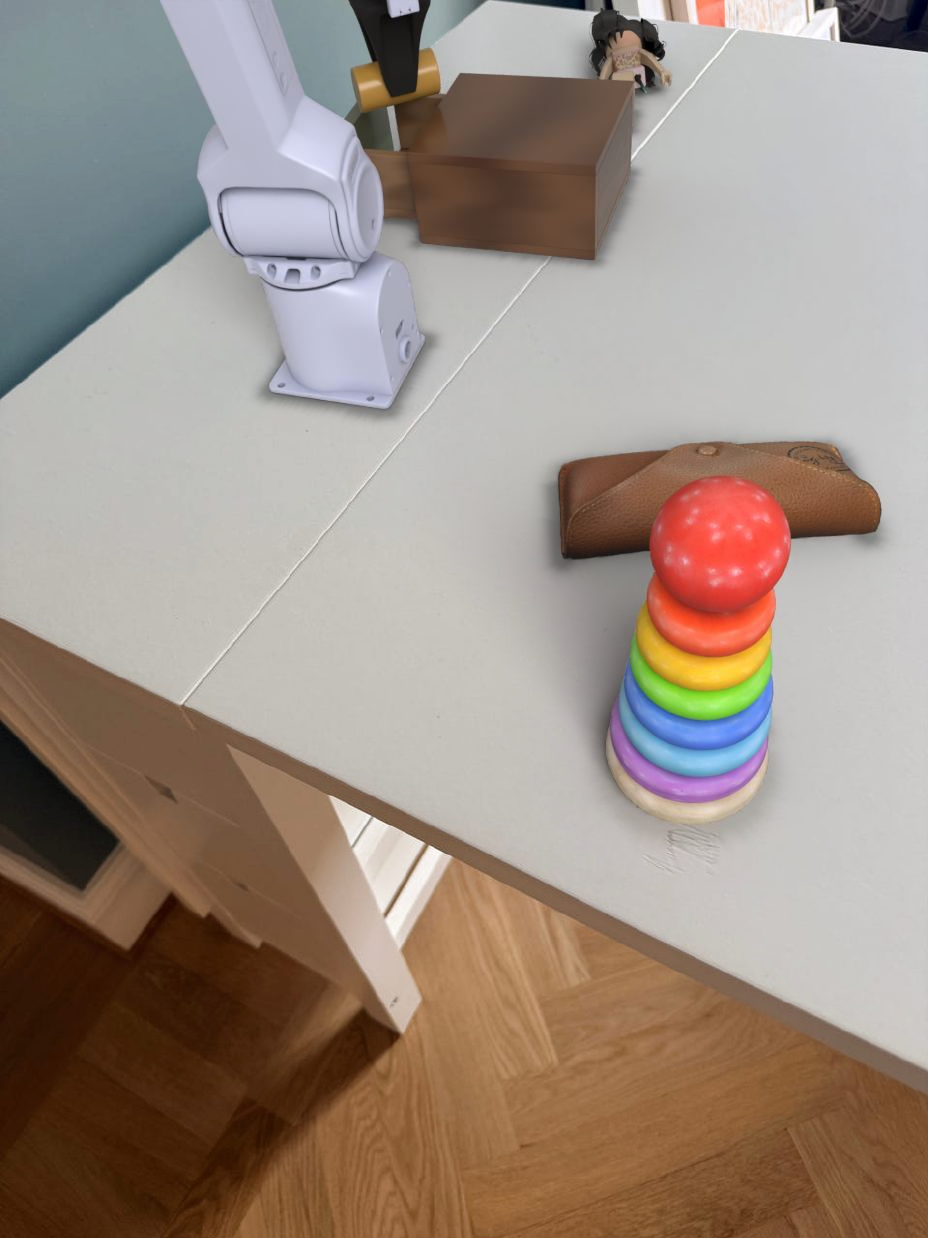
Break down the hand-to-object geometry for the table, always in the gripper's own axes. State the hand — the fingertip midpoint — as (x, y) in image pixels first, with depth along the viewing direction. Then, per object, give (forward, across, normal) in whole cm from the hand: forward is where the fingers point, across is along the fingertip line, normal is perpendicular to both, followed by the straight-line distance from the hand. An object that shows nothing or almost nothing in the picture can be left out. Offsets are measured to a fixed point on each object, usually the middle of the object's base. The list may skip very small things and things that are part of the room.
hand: (396, 82), depth 73 cm
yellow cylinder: (+1, 0, 0) cm, 1 cm away
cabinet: (+10, +6, +8) cm, 14 cm away
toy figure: (+10, -8, +23) cm, 26 cm away
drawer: (+9, 0, -1) cm, 9 cm away
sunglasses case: (+10, +42, +7) cm, 44 cm away
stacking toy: (+10, +57, -1) cm, 58 cm away
